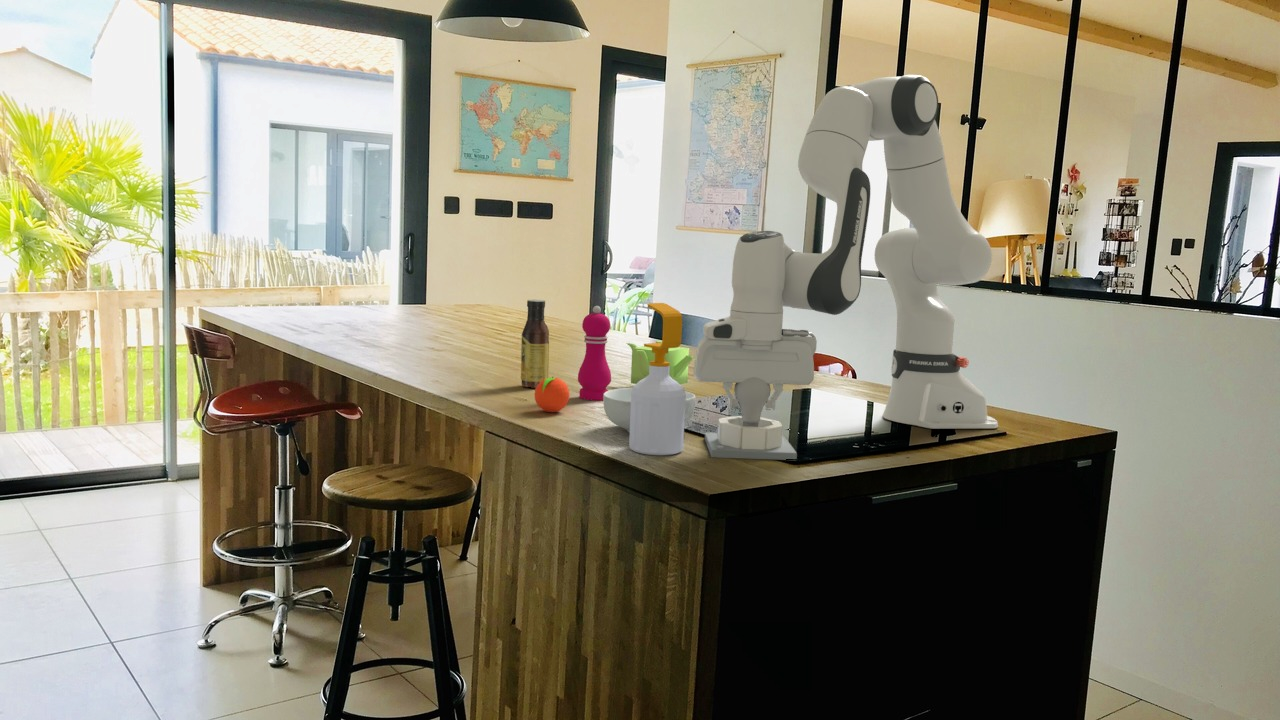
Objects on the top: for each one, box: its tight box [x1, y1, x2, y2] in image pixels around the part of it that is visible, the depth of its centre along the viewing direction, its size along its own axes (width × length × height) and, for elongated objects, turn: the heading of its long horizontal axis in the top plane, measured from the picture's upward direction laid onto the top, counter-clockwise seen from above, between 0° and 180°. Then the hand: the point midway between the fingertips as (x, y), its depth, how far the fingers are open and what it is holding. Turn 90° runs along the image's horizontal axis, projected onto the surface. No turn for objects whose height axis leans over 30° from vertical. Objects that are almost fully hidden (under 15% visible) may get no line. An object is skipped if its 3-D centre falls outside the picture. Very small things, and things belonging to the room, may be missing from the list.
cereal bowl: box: [602, 387, 697, 434], centre depth 178 cm, size 17×17×7 cm
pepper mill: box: [577, 305, 612, 402], centre depth 210 cm, size 7×7×20 cm
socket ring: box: [717, 415, 784, 450], centre depth 167 cm, size 10×10×4 cm
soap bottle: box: [628, 302, 686, 456], centre depth 162 cm, size 9×9×25 cm
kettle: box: [625, 340, 695, 385], centre depth 227 cm, size 15×14×11 cm
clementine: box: [534, 376, 570, 413], centre depth 193 cm, size 8×7×7 cm
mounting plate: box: [704, 432, 798, 461], centre depth 167 cm, size 14×14×2 cm
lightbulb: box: [733, 377, 771, 427], centre depth 166 cm, size 6×6×11 cm
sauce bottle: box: [520, 299, 550, 389], centre depth 222 cm, size 6×6×20 cm
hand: (751, 408), depth 166 cm, fingers closed on lightbulb, 5 cm apart
